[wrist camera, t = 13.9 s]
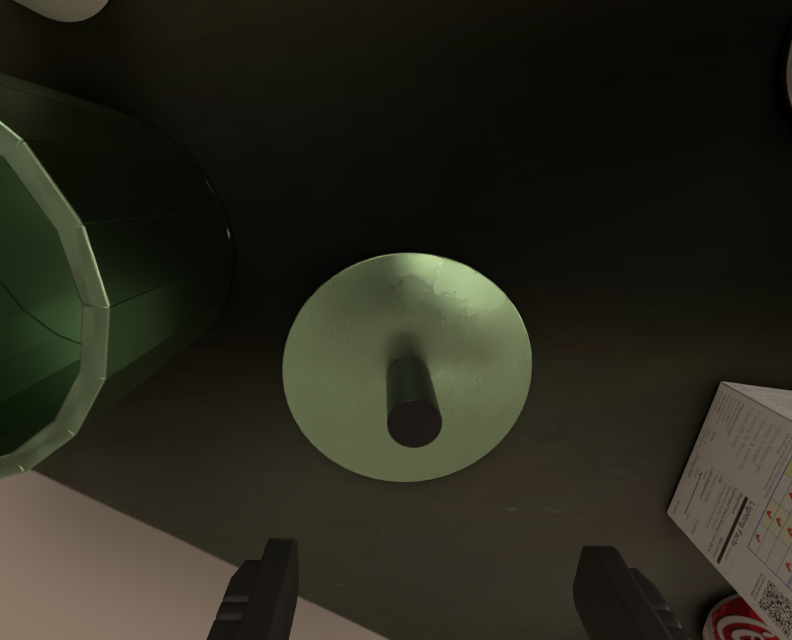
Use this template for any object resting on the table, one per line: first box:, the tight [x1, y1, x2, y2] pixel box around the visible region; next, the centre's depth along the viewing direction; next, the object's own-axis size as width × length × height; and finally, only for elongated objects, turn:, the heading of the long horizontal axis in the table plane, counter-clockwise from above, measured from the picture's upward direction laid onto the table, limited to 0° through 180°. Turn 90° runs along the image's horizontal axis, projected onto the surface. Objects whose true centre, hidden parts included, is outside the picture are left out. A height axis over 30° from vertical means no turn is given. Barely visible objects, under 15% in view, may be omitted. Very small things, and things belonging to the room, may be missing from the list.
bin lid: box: [282, 251, 532, 482], centre depth 22 cm, size 15×15×6 cm
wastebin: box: [0, 73, 234, 479], centre depth 17 cm, size 14×14×11 cm
